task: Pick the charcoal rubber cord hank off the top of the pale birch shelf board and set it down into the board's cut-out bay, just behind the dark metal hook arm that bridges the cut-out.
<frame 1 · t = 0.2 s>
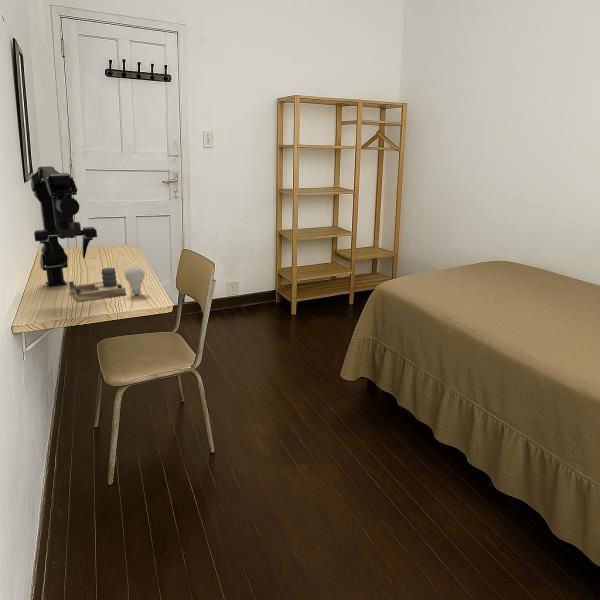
hand: (69, 259, 176), 14 cm above the table, fingers open, 9 cm apart
shelf board: (97, 293, 189), on the table
cord hank: (110, 285, 191), point 2 cm above the table, touching shelf board
light bulb: (136, 295, 187), on the table
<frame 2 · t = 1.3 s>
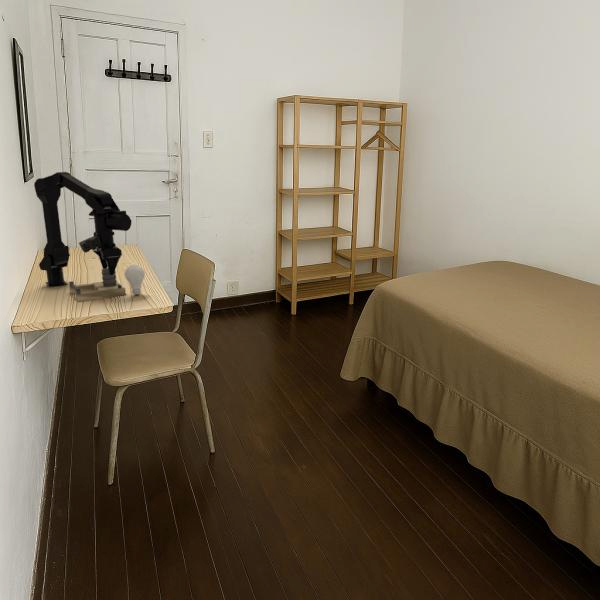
hand: (108, 272, 189), 7 cm above the table, fingers open, 9 cm apart
nothing on the table moved.
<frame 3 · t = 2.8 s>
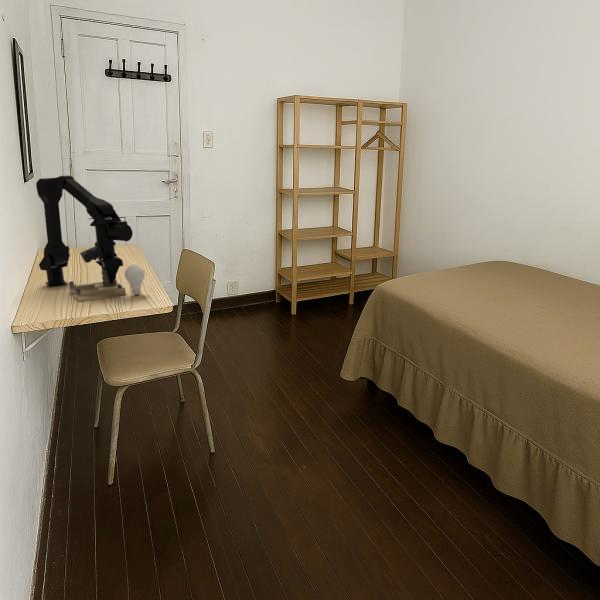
hand: (109, 282, 190), 4 cm above the table, fingers closed on cord hank, 5 cm apart
cord hank: (110, 285, 191), point 2 cm above the table, touching gripper, shelf board
everything else where it was.
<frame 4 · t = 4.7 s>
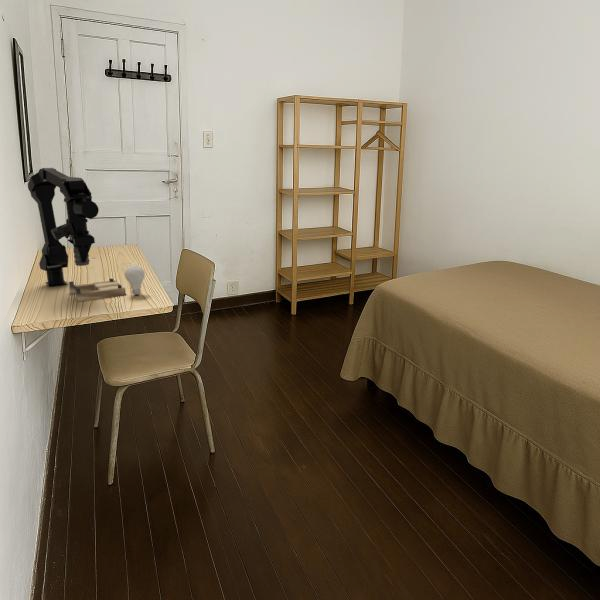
hand: (82, 261, 183), 12 cm above the table, fingers closed on cord hank, 5 cm apart
cord hank: (82, 264, 184), point 11 cm above the table, touching gripper
everything else where it was.
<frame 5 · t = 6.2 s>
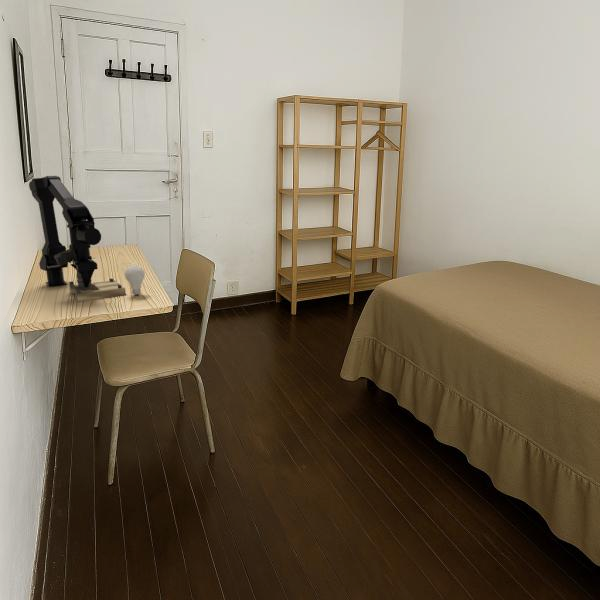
hand: (84, 285, 186), 4 cm above the table, fingers closed on cord hank, 5 cm apart
cord hank: (85, 288, 186), point 2 cm above the table, touching gripper
everything else where it was.
when the fingers open (3 cm above the table, at t = 7.0 s): cord hank drops 2 cm, on the table.
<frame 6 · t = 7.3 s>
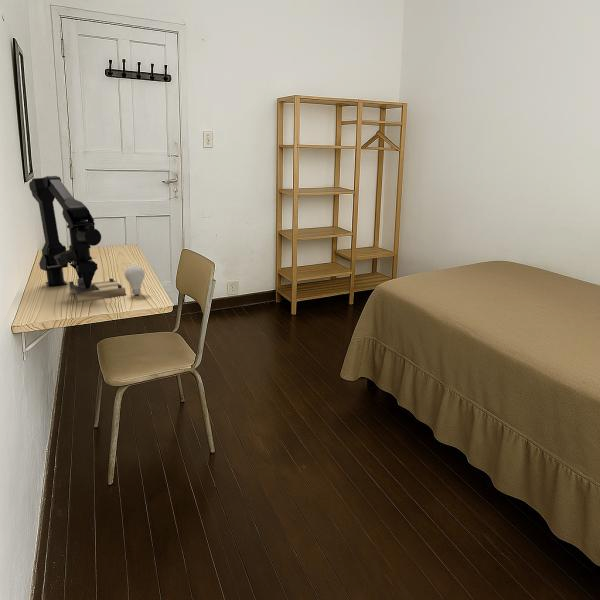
hand: (84, 286, 186), 3 cm above the table, fingers open, 8 cm apart
cord hank: (86, 295, 187), on the table
everything else where it was.
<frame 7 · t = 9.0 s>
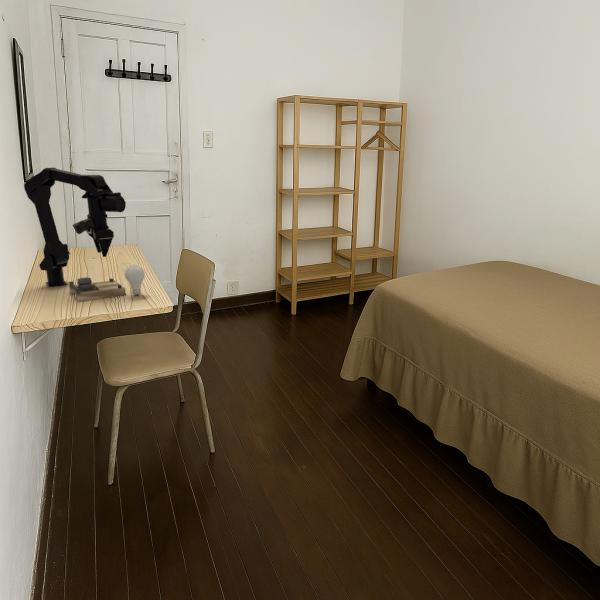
hand: (101, 254, 192), 13 cm above the table, fingers open, 9 cm apart
nothing on the table moved.
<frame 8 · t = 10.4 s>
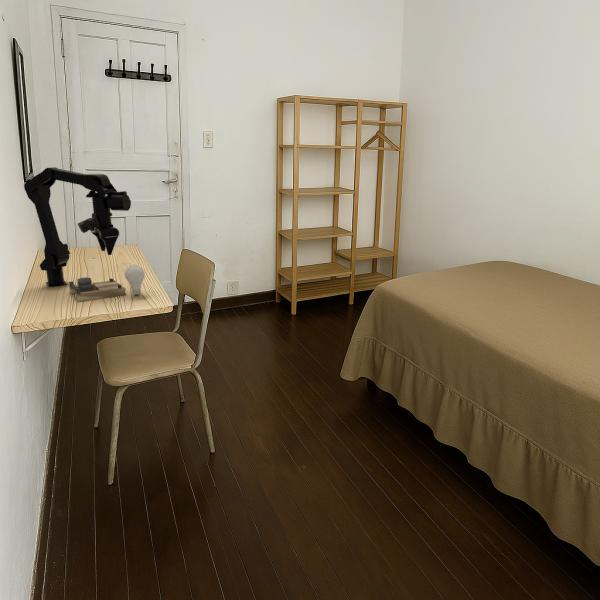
hand: (106, 252, 194), 13 cm above the table, fingers open, 9 cm apart
nothing on the table moved.
at the end: cord hank 0.3 cm from the target spot, on the table; cord hank tilted 0°; the gripper is holding nothing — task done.
